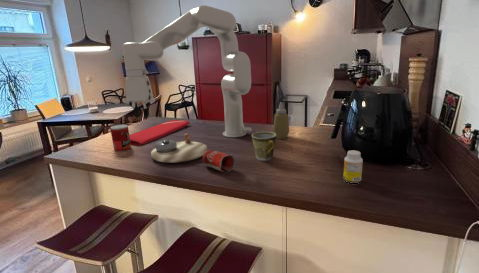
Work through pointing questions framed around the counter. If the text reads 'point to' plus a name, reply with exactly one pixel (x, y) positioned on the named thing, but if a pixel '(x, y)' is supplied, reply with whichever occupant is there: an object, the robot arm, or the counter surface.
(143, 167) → the counter surface
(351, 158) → the supplement bottle
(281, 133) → the squeeze bottle
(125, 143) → the canned food
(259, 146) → the ceramic cup
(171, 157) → the platter
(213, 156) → the beverage can
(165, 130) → the dish drying mat
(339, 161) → the counter surface
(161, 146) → the cover
